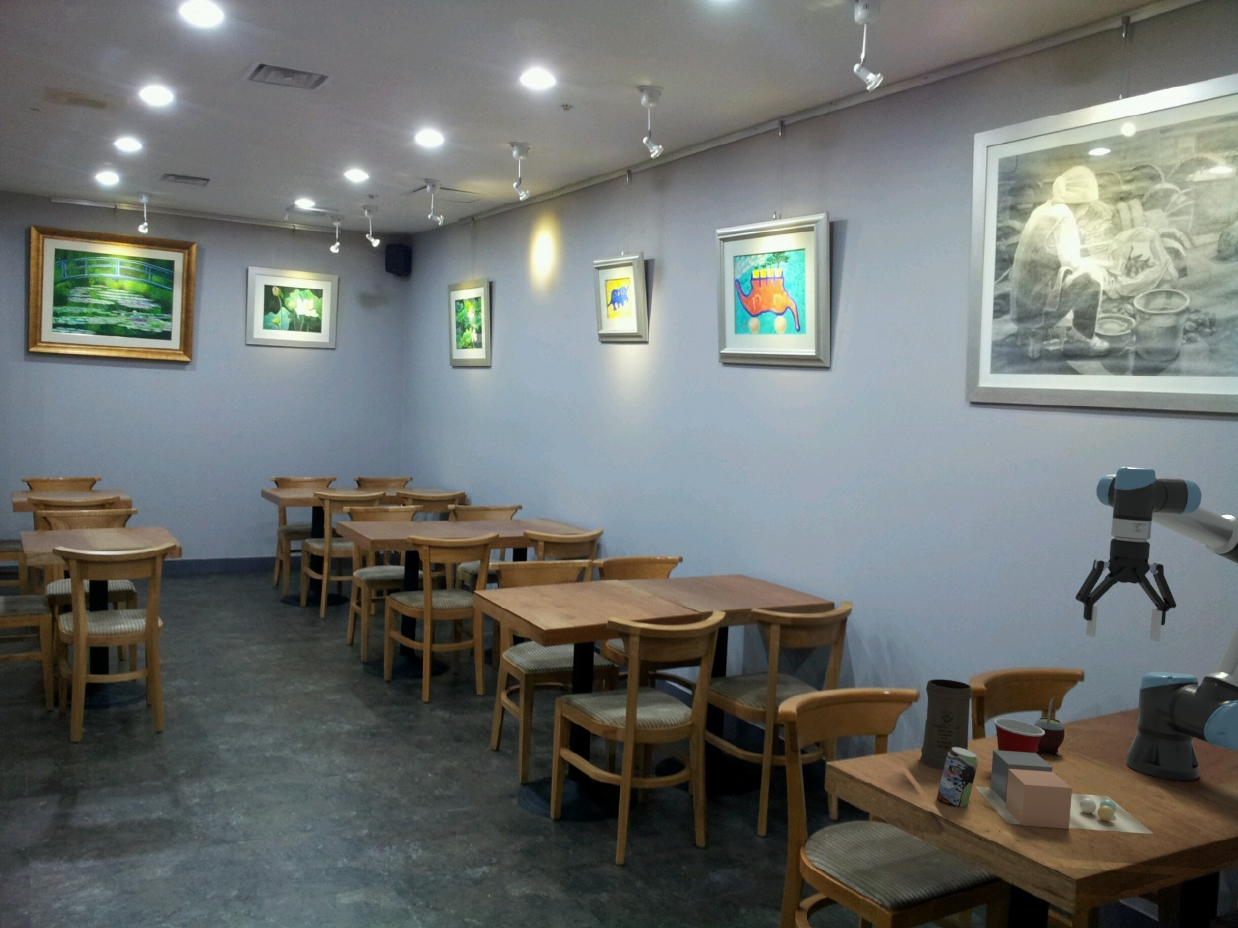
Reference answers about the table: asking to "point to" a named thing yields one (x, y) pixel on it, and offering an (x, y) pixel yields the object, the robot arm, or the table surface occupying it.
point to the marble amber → (1105, 813)
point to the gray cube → (1013, 767)
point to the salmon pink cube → (1038, 798)
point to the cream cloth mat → (1077, 814)
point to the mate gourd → (1050, 734)
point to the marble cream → (1087, 805)
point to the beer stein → (945, 720)
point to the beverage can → (957, 777)
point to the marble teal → (1108, 804)
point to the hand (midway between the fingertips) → (1122, 637)
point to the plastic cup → (1017, 735)
